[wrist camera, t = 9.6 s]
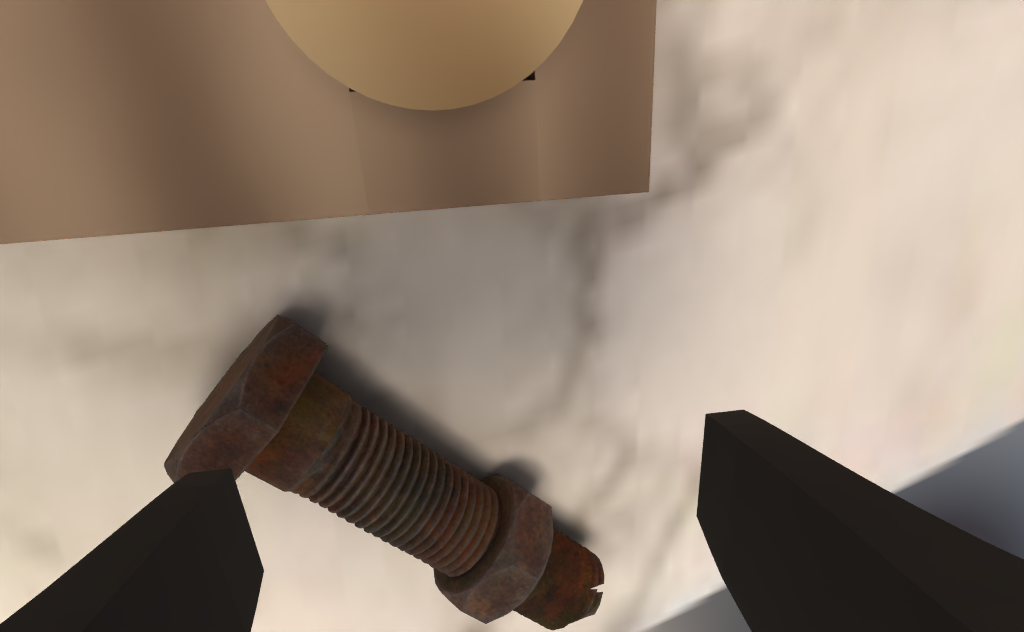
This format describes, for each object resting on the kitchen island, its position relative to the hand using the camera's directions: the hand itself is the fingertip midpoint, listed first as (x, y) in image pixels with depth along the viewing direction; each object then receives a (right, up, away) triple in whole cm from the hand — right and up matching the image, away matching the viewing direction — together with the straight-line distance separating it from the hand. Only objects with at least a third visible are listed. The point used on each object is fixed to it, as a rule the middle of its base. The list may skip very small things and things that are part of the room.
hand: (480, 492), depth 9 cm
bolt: (-3, -3, +13) cm, 13 cm away
